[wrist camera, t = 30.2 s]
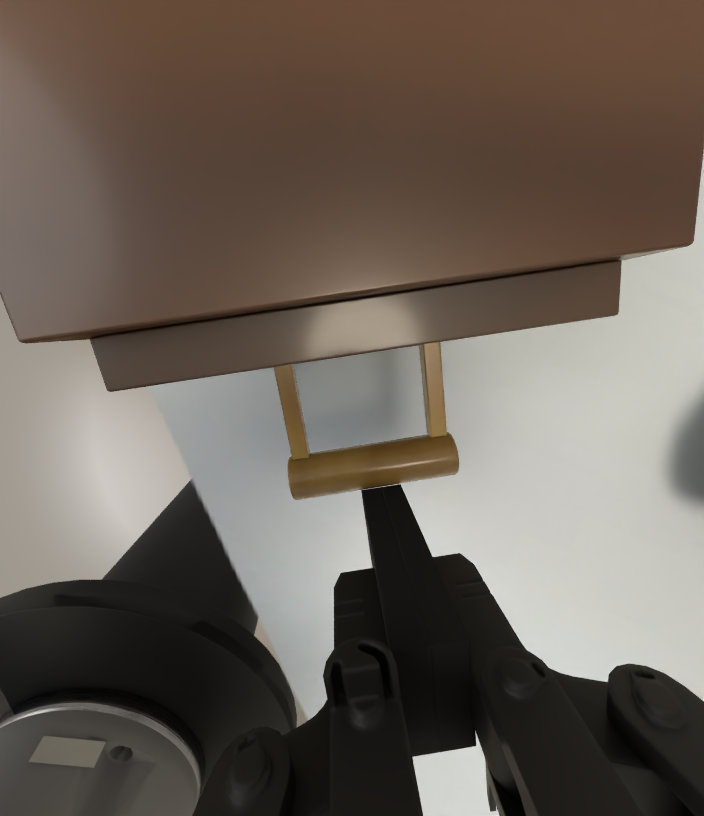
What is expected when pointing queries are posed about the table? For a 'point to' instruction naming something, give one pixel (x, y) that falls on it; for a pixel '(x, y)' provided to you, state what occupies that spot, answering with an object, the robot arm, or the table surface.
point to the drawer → (357, 334)
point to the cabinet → (331, 150)
